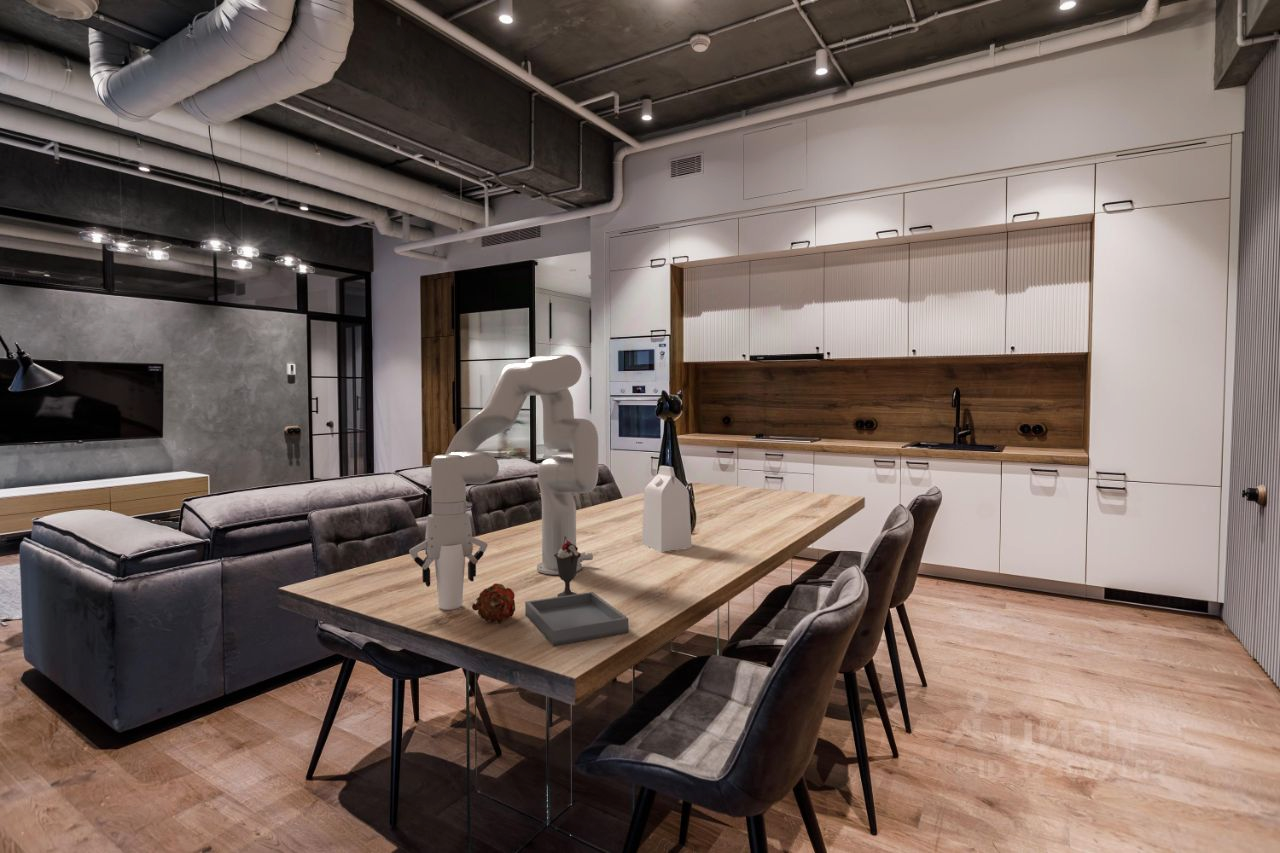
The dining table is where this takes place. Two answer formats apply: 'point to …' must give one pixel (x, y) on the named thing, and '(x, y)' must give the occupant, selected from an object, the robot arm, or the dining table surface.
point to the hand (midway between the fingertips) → (449, 582)
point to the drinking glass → (450, 577)
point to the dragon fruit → (495, 603)
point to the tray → (575, 618)
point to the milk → (666, 513)
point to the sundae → (567, 565)
